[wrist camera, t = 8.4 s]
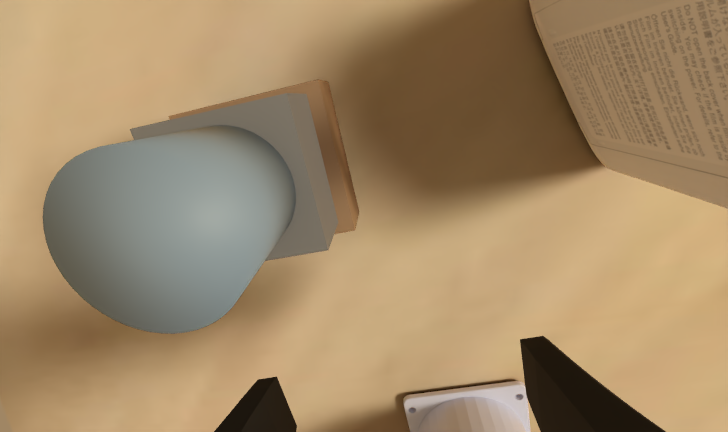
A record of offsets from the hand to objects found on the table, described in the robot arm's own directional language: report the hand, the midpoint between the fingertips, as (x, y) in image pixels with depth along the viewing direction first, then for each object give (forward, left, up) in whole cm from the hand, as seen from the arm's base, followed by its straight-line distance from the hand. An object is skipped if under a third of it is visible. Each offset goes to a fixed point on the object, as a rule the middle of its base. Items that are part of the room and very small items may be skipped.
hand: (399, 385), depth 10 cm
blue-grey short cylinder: (+6, +5, -4) cm, 9 cm away
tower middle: (+6, +5, -8) cm, 11 cm away
